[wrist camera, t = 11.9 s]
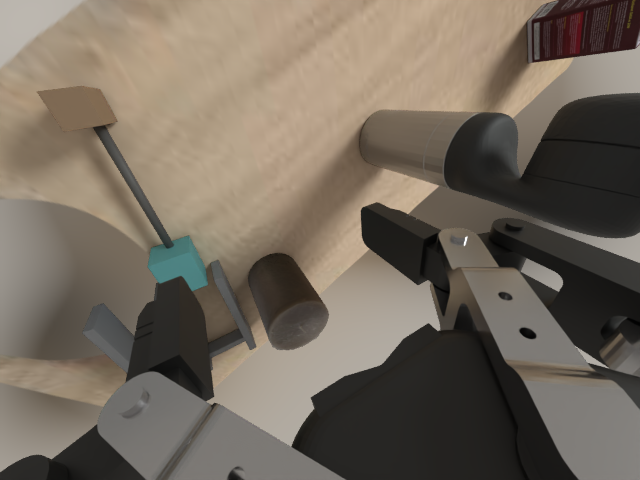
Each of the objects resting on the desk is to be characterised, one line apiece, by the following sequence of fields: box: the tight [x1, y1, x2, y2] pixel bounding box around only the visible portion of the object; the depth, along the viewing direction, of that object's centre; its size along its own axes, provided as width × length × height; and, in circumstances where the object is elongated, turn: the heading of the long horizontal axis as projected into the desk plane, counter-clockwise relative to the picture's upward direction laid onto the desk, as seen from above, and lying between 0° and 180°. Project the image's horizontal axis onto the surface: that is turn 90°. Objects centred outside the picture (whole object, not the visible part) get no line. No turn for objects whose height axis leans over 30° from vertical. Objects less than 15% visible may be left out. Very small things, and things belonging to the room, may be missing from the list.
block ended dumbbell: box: [37, 86, 208, 291], centre depth 28 cm, size 5×24×6 cm, turn 9°
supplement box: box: [527, 0, 640, 63], centre depth 43 cm, size 9×5×16 cm, turn 41°
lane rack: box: [82, 260, 256, 373], centre depth 39 cm, size 17×18×5 cm
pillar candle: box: [248, 253, 329, 350], centre depth 40 cm, size 10×10×15 cm
